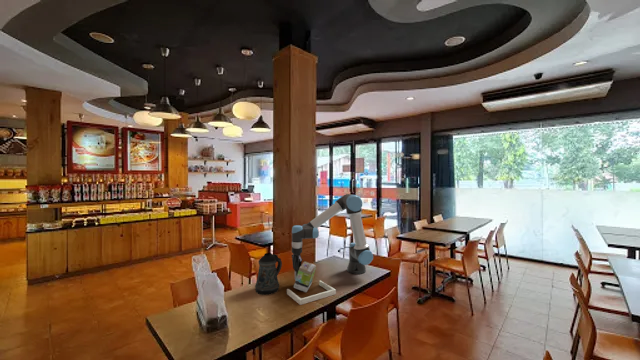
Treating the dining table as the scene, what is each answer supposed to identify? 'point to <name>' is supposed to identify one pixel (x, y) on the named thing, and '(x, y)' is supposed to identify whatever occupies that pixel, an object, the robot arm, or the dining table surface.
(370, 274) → the dining table surface
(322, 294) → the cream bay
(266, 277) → the beer stein
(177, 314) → the dining table surface
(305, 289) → the tea box
